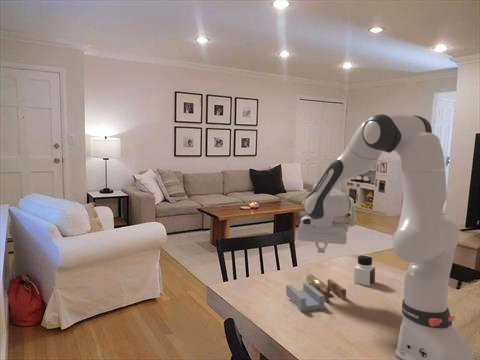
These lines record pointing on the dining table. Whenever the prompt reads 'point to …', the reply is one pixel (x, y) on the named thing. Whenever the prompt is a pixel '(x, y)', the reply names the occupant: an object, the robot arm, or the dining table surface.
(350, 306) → the dining table surface
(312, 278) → the axle
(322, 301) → the cradle
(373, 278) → the medicine bottle
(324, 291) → the pair of brown bars
